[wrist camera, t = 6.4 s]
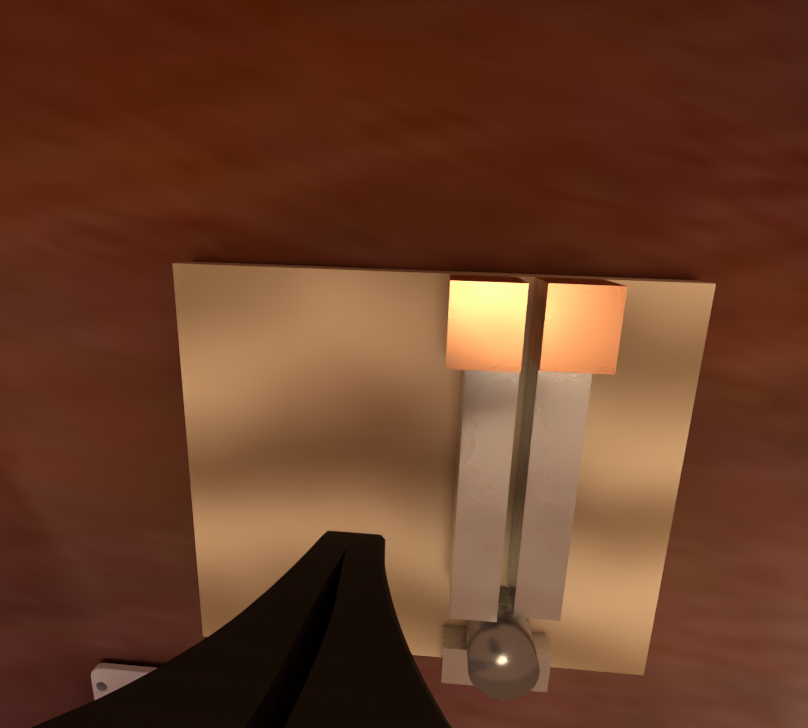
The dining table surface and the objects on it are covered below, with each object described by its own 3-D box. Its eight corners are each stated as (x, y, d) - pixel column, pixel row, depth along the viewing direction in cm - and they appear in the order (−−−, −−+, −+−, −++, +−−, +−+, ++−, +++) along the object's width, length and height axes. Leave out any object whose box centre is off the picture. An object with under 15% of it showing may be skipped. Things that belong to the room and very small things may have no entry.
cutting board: (632, 651, 21) (643, 675, 20) (215, 615, 22) (202, 636, 21) (698, 280, 17) (715, 283, 16) (189, 261, 19) (172, 263, 17)
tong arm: (491, 583, 19) (496, 626, 17) (433, 578, 19) (432, 620, 17) (518, 277, 16) (528, 283, 14) (449, 274, 17) (450, 280, 14)
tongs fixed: (553, 666, 20) (570, 733, 18) (441, 657, 21) (441, 721, 18) (603, 279, 16) (635, 288, 14) (464, 274, 17) (468, 282, 14)
